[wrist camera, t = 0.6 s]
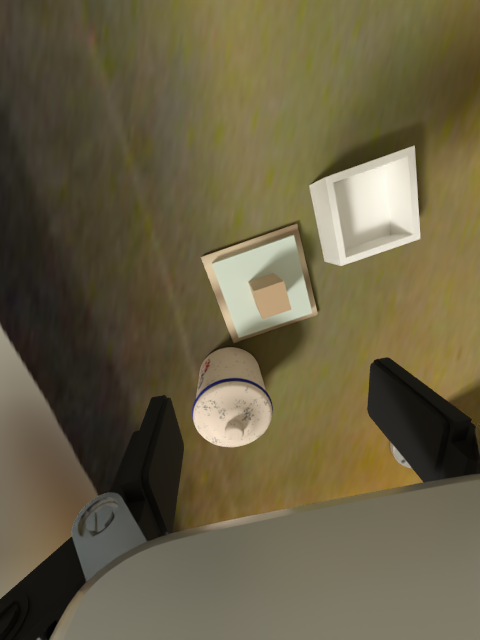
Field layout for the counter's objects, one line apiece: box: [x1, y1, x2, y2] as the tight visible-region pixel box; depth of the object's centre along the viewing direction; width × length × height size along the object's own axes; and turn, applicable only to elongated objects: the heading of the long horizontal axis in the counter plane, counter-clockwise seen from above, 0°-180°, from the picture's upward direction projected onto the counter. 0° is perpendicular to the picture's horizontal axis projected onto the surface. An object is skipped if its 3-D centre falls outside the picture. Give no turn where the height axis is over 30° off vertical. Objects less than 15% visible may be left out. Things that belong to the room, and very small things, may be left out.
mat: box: [201, 224, 318, 343], centre depth 32 cm, size 12×12×1 cm
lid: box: [212, 235, 312, 338], centre depth 28 cm, size 10×10×6 cm
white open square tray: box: [309, 145, 420, 266], centre depth 28 cm, size 9×9×4 cm
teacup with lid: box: [192, 347, 273, 447], centre depth 31 cm, size 12×9×12 cm
